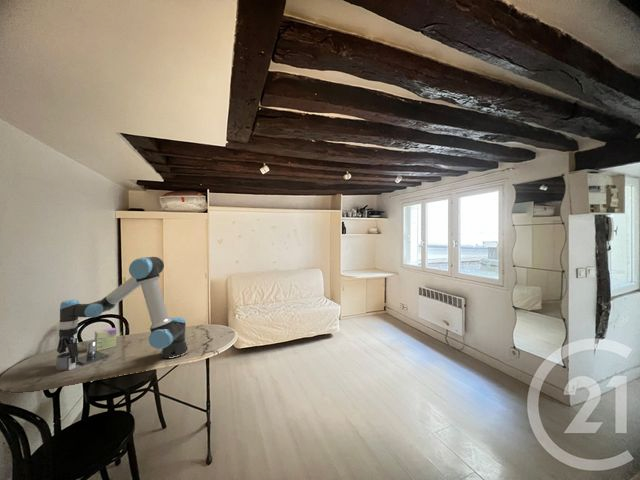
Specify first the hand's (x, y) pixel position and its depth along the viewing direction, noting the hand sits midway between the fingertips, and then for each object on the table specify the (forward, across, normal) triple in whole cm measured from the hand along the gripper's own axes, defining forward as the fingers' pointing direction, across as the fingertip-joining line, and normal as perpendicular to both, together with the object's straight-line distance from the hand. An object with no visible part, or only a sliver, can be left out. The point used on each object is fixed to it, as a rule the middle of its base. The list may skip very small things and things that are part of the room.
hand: (66, 366), depth 143 cm
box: (0, +12, -24) cm, 27 cm away
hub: (0, 0, 0) cm, 0 cm away
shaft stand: (0, 0, -11) cm, 11 cm away
